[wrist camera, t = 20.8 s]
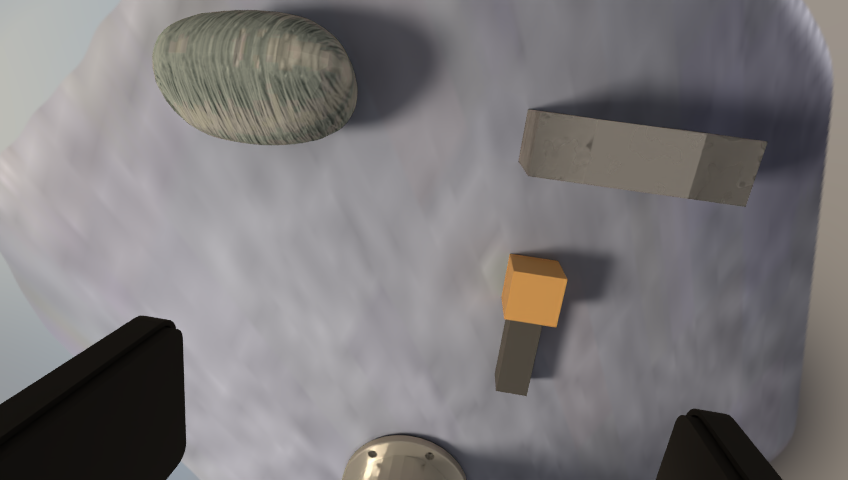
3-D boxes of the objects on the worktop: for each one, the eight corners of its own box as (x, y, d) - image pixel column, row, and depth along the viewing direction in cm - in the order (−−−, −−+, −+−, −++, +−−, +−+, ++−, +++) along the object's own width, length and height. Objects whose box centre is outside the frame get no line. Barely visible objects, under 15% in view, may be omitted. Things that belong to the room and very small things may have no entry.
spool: (167, 151, 36) (111, 93, 27) (190, 39, 38) (144, -54, 28) (345, 178, 39) (353, 134, 29) (359, 72, 40) (370, -3, 31)
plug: (531, 379, 42) (537, 409, 38) (487, 372, 43) (488, 400, 39) (557, 260, 39) (567, 279, 35) (509, 253, 39) (513, 271, 35)
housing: (694, 186, 36) (745, 206, 29) (518, 161, 37) (528, 175, 30) (710, 133, 35) (767, 141, 28) (527, 109, 36) (540, 111, 29)
